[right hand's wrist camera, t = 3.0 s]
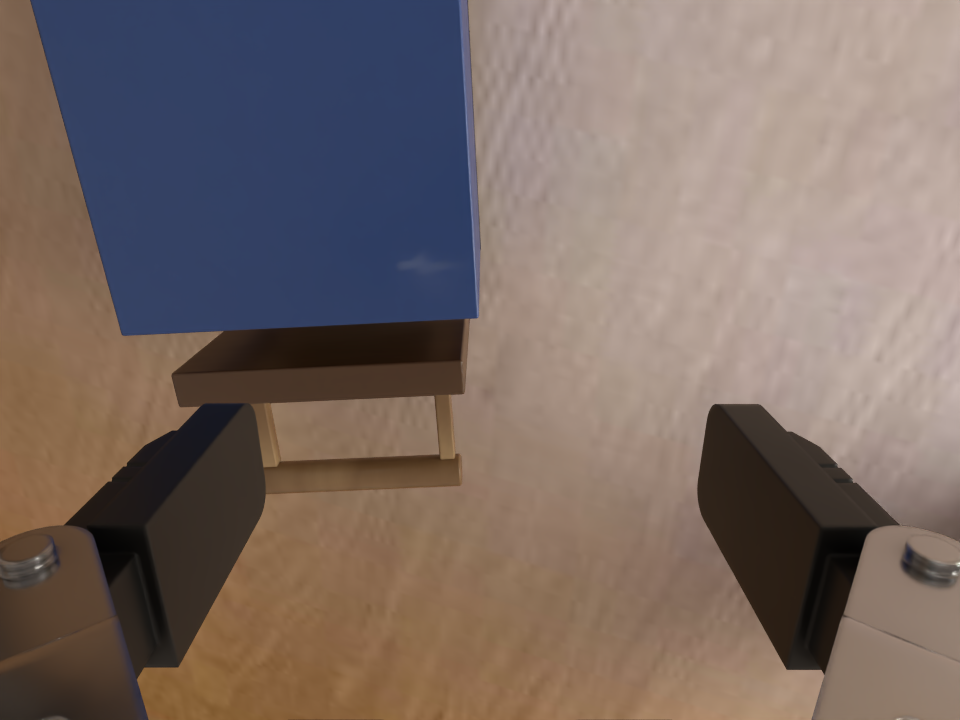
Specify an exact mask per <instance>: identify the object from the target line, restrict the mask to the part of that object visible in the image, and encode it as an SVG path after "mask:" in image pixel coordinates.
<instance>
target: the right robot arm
mask: <svg viewBox="0 0 960 720" xmlns="http://www.w3.org/2000/svg"><path fill="white" fill-rule="evenodd" d="M697 491H698V503H699V508H700V512H701V515H702V517H703V519H704V521H705V523H706V525H707V527H708V528H709V530H710V532H711V534H712V536H713V537H714V539H715V541H716V543H717V545H718V546H719V548H720V550H721V552H722V554H723V555H724V557H725V559H726V561H727V563H728V564H729V566H730V568H731V570H732V572H733V573H734V575H735V577H736V579H737V581H738V583H739V584H740V586H741V588H742V590H743V592H744V593H745V595H746V597H747V599H748V601H749V602H750V604H751V606H752V608H753V610H754V611H755V613H756V615H757V617H758V619H759V620H760V622H761V624H762V626H763V628H764V629H765V631H766V633H767V635H768V637H769V638H770V640H771V642H772V644H773V646H774V648H775V649H776V651H777V653H778V655H779V657H780V658H781V660H782V662H783V664H784V666H785V667H786V669H787V670H822V672H823V673H824V675H825V676H824V679H823V682H822V686H821V689H820V693H819V696H818V699H817V703H816V706H815V710H814V713H813V716H812V720H960V542H959V541H957V540H954V539H952V538H950V537H947V536H945V535H942V534H939V533H936V532H933V531H929V530H926V529H921V528H916V527H910V526H900V525H899V524H898V523H897V522H896V521H895V520H894V519H893V518H892V517H891V516H890V515H889V514H888V513H887V512H886V511H885V510H884V509H883V508H882V507H881V506H880V505H879V504H878V503H877V502H876V501H875V500H873V499H872V498H871V497H870V496H869V495H868V494H867V493H866V492H865V491H864V490H863V489H862V488H861V487H860V486H859V485H858V484H857V483H853V479H852V478H851V477H850V476H849V475H848V474H847V473H846V472H845V471H844V470H843V469H842V468H838V467H837V463H836V462H835V461H834V460H832V459H831V458H830V457H829V456H828V455H827V454H826V453H825V452H824V451H823V450H822V449H821V448H820V447H819V446H817V445H815V444H813V443H812V442H810V441H808V440H806V439H804V438H802V437H801V436H799V435H797V434H795V433H793V432H787V431H786V430H785V429H784V428H783V427H782V426H781V425H780V424H779V423H778V422H777V421H776V420H775V419H774V418H773V417H772V416H771V415H770V414H769V413H768V412H767V411H766V410H765V409H764V408H763V407H762V406H761V405H759V404H715V405H713V406H712V407H711V409H710V411H709V414H708V418H707V423H706V430H705V437H704V444H703V450H702V457H701V464H700V471H699V477H698V488H697ZM265 495H266V482H265V474H264V467H263V461H262V454H261V447H260V440H259V433H258V426H257V420H256V415H255V411H254V409H253V407H252V406H251V405H250V404H249V403H205V404H203V405H202V406H201V407H200V408H199V409H198V410H197V411H196V412H195V413H194V414H193V415H192V416H191V417H190V418H189V419H188V420H187V421H186V422H185V423H184V424H183V425H182V426H181V427H180V428H179V430H178V431H171V432H169V433H167V434H165V435H163V436H161V437H160V438H158V439H156V440H154V441H152V442H150V443H149V444H147V445H145V446H144V447H143V448H142V449H141V450H140V451H139V452H138V453H137V454H136V455H135V456H134V457H133V458H132V459H131V460H130V461H129V462H128V463H127V467H123V468H122V469H121V470H120V471H118V472H117V473H116V474H115V475H114V476H113V477H112V482H107V483H106V484H105V485H104V486H103V487H102V488H101V489H100V490H99V491H98V492H97V493H96V494H95V495H94V496H93V497H92V498H91V499H90V500H89V501H88V502H87V503H86V504H85V505H84V506H83V507H82V508H81V509H80V510H79V511H78V512H77V513H76V514H75V515H74V516H73V517H72V518H71V519H70V520H69V521H68V522H67V523H66V524H65V525H63V526H50V527H44V528H39V529H34V530H31V531H27V532H24V533H21V534H18V535H15V536H13V537H10V538H8V539H6V540H3V541H1V542H0V720H148V716H147V713H146V710H145V706H144V703H143V699H142V696H141V693H140V689H139V686H138V682H137V678H138V676H139V675H140V673H141V672H142V670H143V668H144V667H179V665H180V663H181V661H182V660H183V658H184V656H185V654H186V652H187V650H188V649H189V647H190V645H191V643H192V641H193V639H194V638H195V636H196V634H197V632H198V630H199V628H200V627H201V625H202V623H203V621H204V619H205V617H206V616H207V614H208V612H209V610H210V608H211V607H212V605H213V603H214V601H215V599H216V597H217V596H218V594H219V592H220V590H221V588H222V586H223V585H224V583H225V581H226V579H227V577H228V575H229V574H230V572H231V570H232V568H233V566H234V564H235V563H236V561H237V559H238V557H239V555H240V554H241V552H242V550H243V548H244V546H245V544H246V543H247V541H248V539H249V537H250V535H251V533H252V532H253V530H254V528H255V526H256V524H257V522H258V521H259V519H260V517H261V514H262V512H263V508H264V503H265Z"/></svg>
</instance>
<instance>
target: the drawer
mask: <svg viewBox="0 0 960 720" xmlns="http://www.w3.org/2000/svg"><path fill="white" fill-rule="evenodd" d="M469 322H470V319H454V320H433V321H413V322H393V323H373V324H352V325H332V326H312V327H291V328H271V329H251V330H231V331H224V332H222V333H221V334H220V335H219V336H218V337H216V338H215V339H214V340H213V341H211V342H210V343H209V344H208V345H207V346H205V347H204V348H203V349H202V350H200V351H199V352H198V353H197V354H196V355H194V356H193V357H192V358H191V359H189V360H188V361H187V362H186V363H184V364H183V365H182V366H181V367H180V368H178V369H177V370H176V371H175V372H173V373H172V380H173V384H174V388H175V392H176V396H177V400H178V404H179V406H180V407H197V406H202V405H203V404H205V403H249V404H250V405H251V406H252V407H253V409H254V411H255V415H256V420H257V426H258V433H259V440H260V447H261V454H262V461H263V467H264V474H265V482H266V494H281V493H305V492H328V491H351V490H374V489H398V488H421V487H444V486H460V485H462V460H461V455H460V454H455V439H454V426H453V413H452V400H451V395H455V394H464V392H465V382H466V367H467V352H468V337H469ZM412 396H435V408H436V419H437V431H438V442H439V454H440V455H417V456H395V457H372V458H350V459H327V460H305V461H282V462H280V461H281V457H280V452H279V446H278V441H277V436H276V431H275V425H274V420H273V415H272V410H271V405H270V403H283V402H305V401H326V400H348V399H369V398H391V397H412Z"/></svg>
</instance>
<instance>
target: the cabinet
mask: <svg viewBox="0 0 960 720" xmlns="http://www.w3.org/2000/svg"><path fill="white" fill-rule="evenodd" d="M30 1H31V5H32V8H33V12H34V16H35V19H36V23H37V27H38V30H39V34H40V37H41V41H42V45H43V48H44V52H45V56H46V59H47V63H48V67H49V70H50V74H51V78H52V81H53V85H54V89H55V92H56V96H57V100H58V103H59V107H60V111H61V114H62V118H63V122H64V125H65V129H66V132H67V136H68V140H69V143H70V147H71V151H72V154H73V158H74V162H75V165H76V169H77V173H78V176H79V180H80V184H81V187H82V191H83V195H84V198H85V202H86V206H87V209H88V213H89V216H90V220H91V224H92V227H93V231H94V235H95V238H96V242H97V246H98V249H99V253H100V257H101V260H102V264H103V268H104V271H105V275H106V279H107V282H108V286H109V290H110V293H111V297H112V300H113V304H114V308H115V311H116V315H117V319H118V322H119V326H120V330H121V333H122V335H123V336H129V335H150V334H170V333H190V332H210V331H231V330H251V329H271V328H291V327H312V326H332V325H352V324H373V323H393V322H413V321H433V320H454V319H474V318H478V317H479V281H480V249H481V242H480V224H479V205H478V186H477V167H476V148H475V129H474V110H473V91H472V72H471V53H470V34H469V15H468V0H30Z"/></svg>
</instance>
